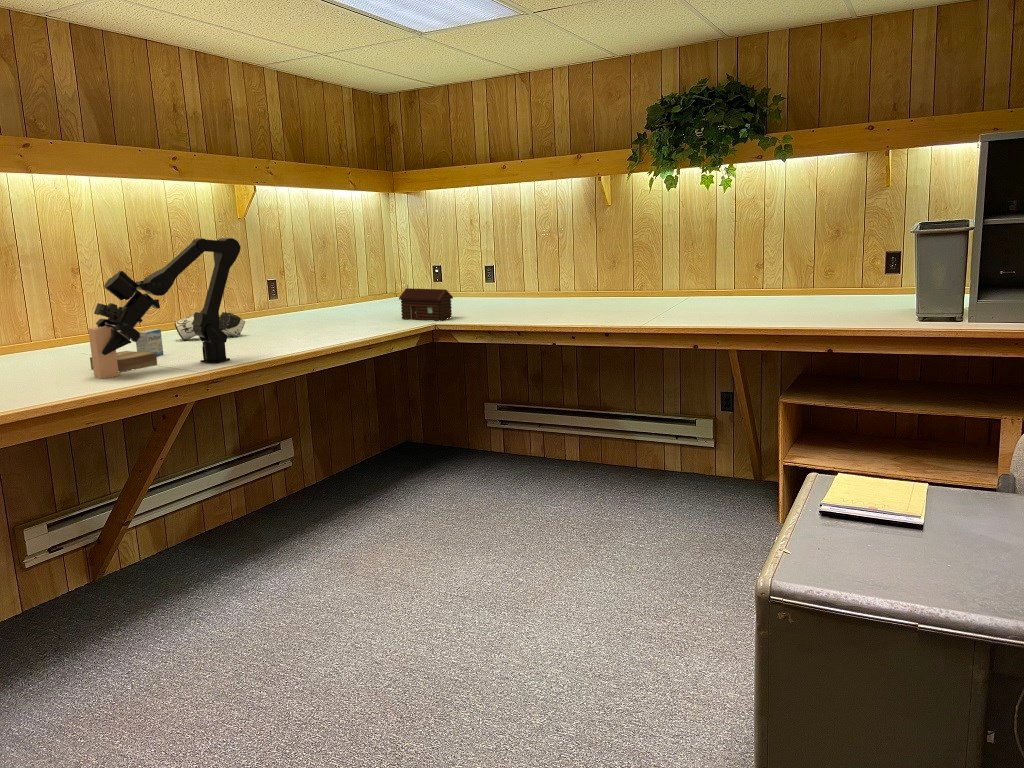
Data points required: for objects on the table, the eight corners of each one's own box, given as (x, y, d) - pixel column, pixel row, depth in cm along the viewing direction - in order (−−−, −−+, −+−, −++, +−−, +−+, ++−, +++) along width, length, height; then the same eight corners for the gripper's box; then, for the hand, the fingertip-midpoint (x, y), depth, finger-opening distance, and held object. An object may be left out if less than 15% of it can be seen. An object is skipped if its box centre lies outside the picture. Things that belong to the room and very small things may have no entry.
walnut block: (157, 365, 246) (156, 353, 245) (122, 373, 234) (120, 360, 233) (127, 363, 251) (126, 350, 250) (91, 370, 239) (89, 357, 238)
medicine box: (149, 358, 256) (146, 332, 255) (137, 358, 257) (134, 332, 255) (163, 354, 264) (161, 328, 262) (151, 354, 265) (149, 328, 263)
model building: (399, 319, 349) (398, 285, 345) (413, 316, 359) (412, 283, 356) (440, 321, 340) (439, 286, 337) (453, 318, 350) (452, 284, 347)
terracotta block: (112, 373, 231) (106, 326, 228) (118, 375, 228) (113, 327, 225) (94, 376, 227) (88, 328, 224) (100, 378, 224) (94, 329, 221)
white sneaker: (178, 343, 289) (175, 316, 287) (174, 340, 298) (171, 313, 296) (248, 337, 302) (246, 311, 300) (243, 334, 310) (241, 309, 308)
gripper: (99, 291, 232) (63, 332, 226) (123, 294, 219) (86, 338, 214) (130, 315, 239) (95, 355, 233) (155, 319, 226) (119, 363, 221)
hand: (98, 352), depth 225 cm, fingers open, 7 cm apart
